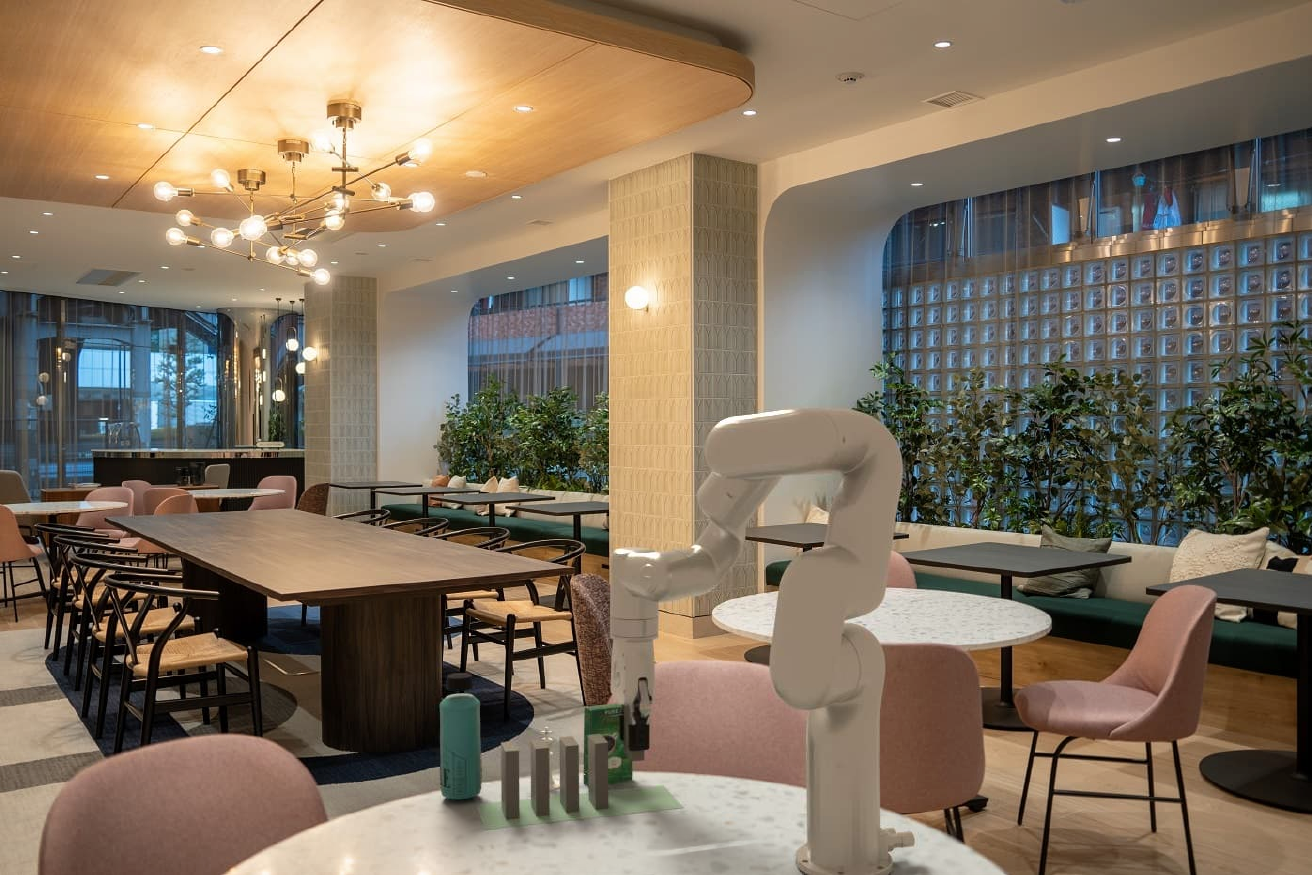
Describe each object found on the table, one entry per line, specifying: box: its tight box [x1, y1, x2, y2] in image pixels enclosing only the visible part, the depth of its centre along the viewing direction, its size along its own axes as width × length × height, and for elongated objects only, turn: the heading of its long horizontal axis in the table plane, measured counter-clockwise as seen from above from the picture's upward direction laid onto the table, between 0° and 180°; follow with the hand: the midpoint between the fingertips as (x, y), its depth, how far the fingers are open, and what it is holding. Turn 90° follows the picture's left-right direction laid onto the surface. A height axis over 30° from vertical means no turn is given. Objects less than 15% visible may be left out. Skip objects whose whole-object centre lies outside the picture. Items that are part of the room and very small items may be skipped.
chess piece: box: [540, 726, 560, 791], centre depth 168 cm, size 5×5×10 cm
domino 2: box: [530, 738, 551, 817], centre depth 156 cm, size 2×5×10 cm, turn 16°
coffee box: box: [583, 702, 634, 787], centre depth 170 cm, size 8×3×13 cm, turn 119°
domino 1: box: [500, 740, 520, 820], centre depth 155 cm, size 2×5×10 cm, turn 16°
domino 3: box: [558, 735, 580, 813], centre depth 158 cm, size 2×5×10 cm, turn 16°
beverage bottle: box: [438, 672, 483, 800], centre depth 162 cm, size 6×7×20 cm
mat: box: [475, 784, 684, 831], centre depth 158 cm, size 30×11×1 cm, turn 106°
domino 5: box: [624, 700, 645, 762], centre depth 161 cm, size 2×5×10 cm, turn 16°
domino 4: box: [587, 734, 609, 810], centre depth 159 cm, size 2×5×10 cm, turn 16°
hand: (634, 743), depth 161 cm, fingers closed on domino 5, 4 cm apart
